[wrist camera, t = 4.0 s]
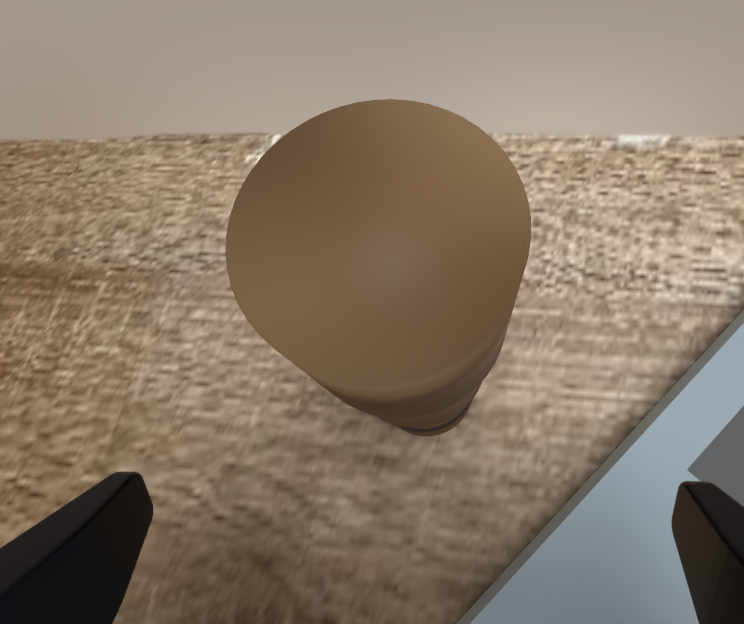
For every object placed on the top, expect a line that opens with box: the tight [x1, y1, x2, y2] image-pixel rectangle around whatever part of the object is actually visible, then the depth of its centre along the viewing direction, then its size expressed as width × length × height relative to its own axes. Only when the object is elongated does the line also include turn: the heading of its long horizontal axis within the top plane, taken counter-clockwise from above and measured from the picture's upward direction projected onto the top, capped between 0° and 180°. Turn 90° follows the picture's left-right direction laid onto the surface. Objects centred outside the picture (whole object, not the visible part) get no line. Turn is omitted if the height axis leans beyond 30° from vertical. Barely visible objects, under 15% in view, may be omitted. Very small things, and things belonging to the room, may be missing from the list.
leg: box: [226, 99, 531, 436], centre depth 14 cm, size 4×4×13 cm
